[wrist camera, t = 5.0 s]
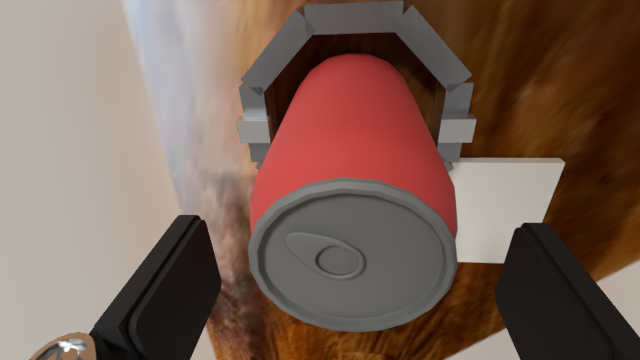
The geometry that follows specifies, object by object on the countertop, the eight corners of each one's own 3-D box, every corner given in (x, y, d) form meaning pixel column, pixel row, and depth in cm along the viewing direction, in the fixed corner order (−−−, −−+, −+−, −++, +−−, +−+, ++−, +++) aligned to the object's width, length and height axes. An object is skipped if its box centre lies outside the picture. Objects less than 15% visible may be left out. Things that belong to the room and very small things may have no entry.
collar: (235, 4, 17) (215, 10, 14) (479, -7, 15) (503, -2, 13) (265, 191, 23) (254, 218, 20) (443, 193, 21) (454, 222, 19)
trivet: (418, 157, 20) (420, 162, 20) (559, 157, 19) (565, 163, 19) (406, 254, 24) (407, 260, 24) (521, 257, 24) (525, 263, 23)
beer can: (331, 24, 17) (296, 108, 7) (437, 91, 18) (542, 247, 8) (276, 128, 20) (195, 291, 10) (368, 178, 21) (380, 367, 11)
